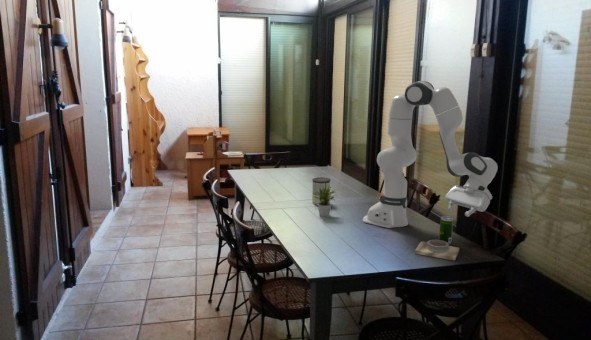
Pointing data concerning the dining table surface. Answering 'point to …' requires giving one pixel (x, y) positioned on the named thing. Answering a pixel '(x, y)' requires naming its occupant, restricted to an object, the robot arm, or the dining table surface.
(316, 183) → the glass jar with lid
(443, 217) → the beer can
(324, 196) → the house plant
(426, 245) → the board
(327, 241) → the dining table surface
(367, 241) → the dining table surface
